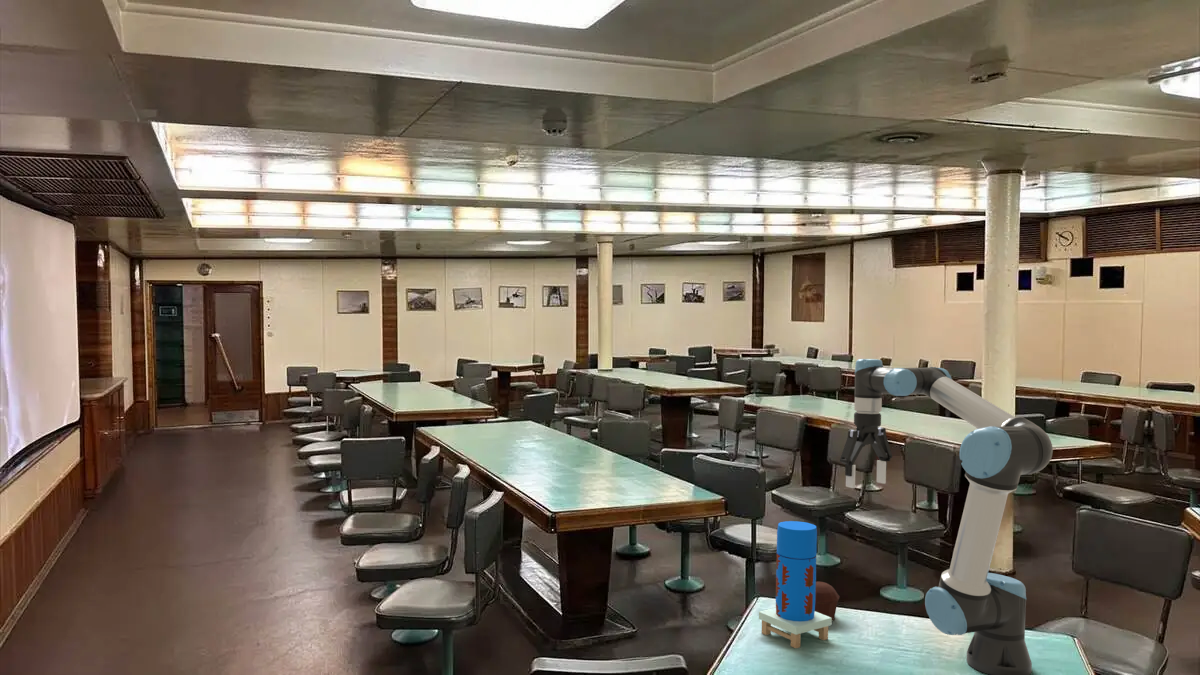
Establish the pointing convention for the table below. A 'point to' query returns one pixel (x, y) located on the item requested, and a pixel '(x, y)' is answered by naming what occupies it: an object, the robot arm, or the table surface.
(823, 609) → the muffin
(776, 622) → the footstool
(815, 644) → the table surface
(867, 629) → the table surface
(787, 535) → the thermos
